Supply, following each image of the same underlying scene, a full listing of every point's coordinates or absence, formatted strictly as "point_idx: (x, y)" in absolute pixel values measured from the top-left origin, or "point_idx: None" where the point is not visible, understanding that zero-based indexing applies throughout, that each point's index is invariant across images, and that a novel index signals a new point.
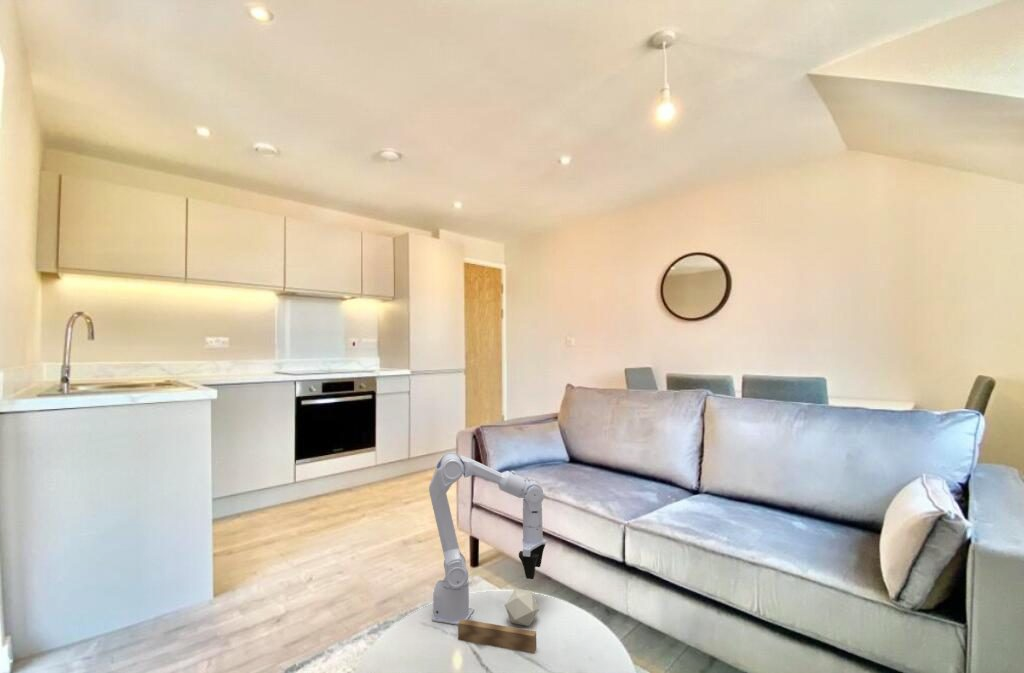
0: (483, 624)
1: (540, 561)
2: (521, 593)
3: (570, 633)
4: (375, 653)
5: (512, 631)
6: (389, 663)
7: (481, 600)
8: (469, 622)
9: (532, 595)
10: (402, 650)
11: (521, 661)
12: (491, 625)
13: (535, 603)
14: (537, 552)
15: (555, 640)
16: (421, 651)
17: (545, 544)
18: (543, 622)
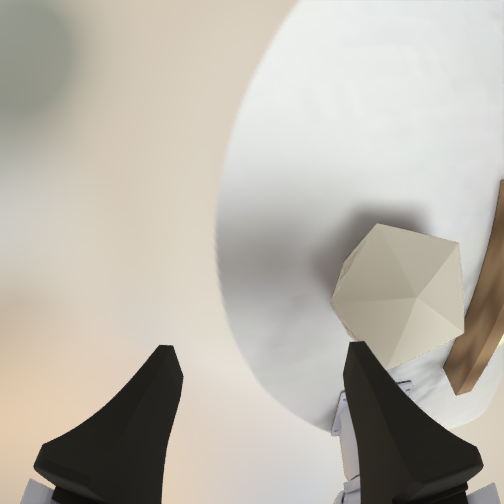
0: (488, 349)
1: (159, 372)
2: (432, 333)
3: (414, 66)
4: (466, 421)
5: None
6: (490, 399)
7: (283, 394)
8: (473, 376)
9: (424, 283)
10: (467, 406)
11: None
12: (495, 331)
13: (408, 249)
14: (146, 439)
15: (463, 121)
16: (476, 388)
17: (66, 454)
18: (373, 185)
